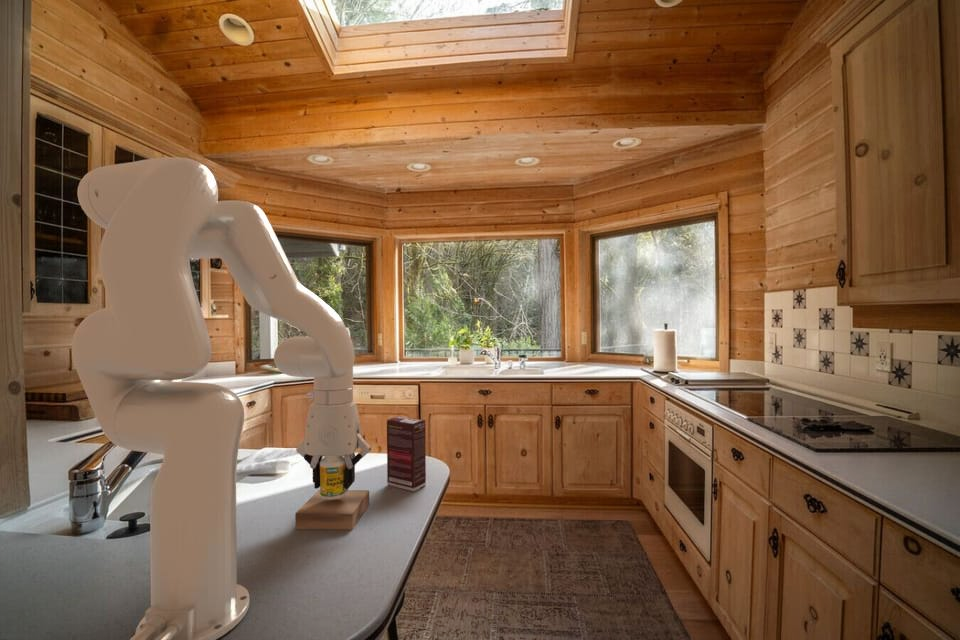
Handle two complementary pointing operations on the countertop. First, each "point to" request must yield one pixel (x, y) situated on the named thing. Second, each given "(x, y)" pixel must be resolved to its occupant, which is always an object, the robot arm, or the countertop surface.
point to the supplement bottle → (332, 477)
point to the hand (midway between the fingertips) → (333, 485)
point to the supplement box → (406, 453)
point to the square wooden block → (332, 511)
